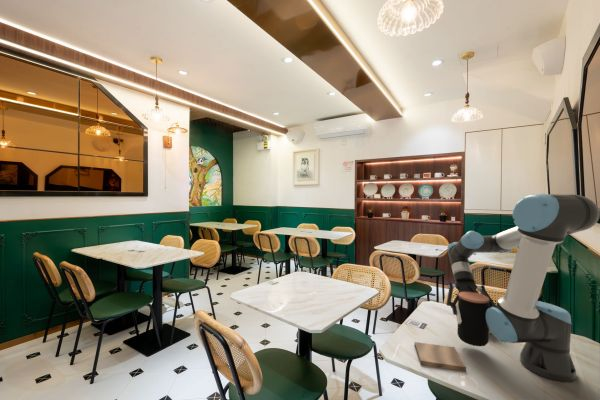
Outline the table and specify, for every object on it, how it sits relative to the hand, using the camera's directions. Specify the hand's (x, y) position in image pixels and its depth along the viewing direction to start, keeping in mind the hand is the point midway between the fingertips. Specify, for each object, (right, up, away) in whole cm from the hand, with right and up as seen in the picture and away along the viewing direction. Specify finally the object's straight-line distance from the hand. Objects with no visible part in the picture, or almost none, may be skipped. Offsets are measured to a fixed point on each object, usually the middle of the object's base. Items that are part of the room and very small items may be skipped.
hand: (475, 324), depth 108 cm
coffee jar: (+1, -8, +3) cm, 8 cm away
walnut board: (-16, -11, -3) cm, 20 cm away
